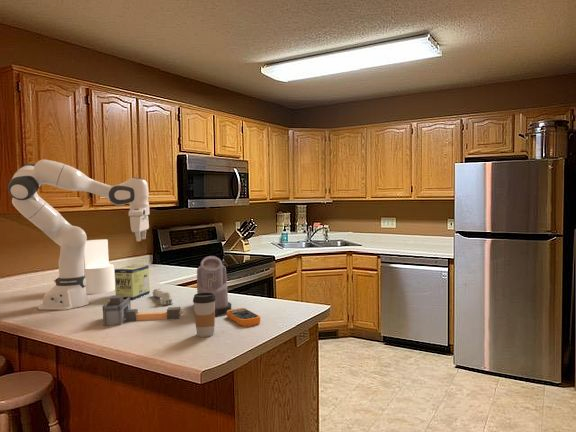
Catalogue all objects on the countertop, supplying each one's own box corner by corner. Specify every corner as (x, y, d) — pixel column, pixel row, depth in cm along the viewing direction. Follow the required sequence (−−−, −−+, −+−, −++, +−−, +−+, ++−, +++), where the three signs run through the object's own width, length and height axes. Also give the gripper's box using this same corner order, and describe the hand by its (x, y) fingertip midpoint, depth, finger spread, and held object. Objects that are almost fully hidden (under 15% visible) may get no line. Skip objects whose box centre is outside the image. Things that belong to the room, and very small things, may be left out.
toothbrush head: (161, 288, 237) (173, 289, 215) (161, 300, 236) (174, 303, 215) (150, 289, 234) (162, 291, 213) (151, 302, 234) (163, 305, 212)
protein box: (115, 299, 230) (113, 269, 229) (133, 292, 245) (132, 264, 244) (133, 300, 227) (131, 269, 226) (150, 293, 242) (149, 264, 241)
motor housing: (103, 325, 183) (102, 301, 182) (114, 315, 198) (113, 293, 197) (121, 324, 183) (119, 300, 183) (131, 315, 198) (129, 292, 198)
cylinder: (74, 293, 248) (71, 242, 247) (98, 286, 264) (96, 239, 263) (98, 294, 242) (96, 243, 240) (121, 288, 258) (119, 239, 256)
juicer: (233, 315, 193) (231, 259, 191) (195, 319, 189) (192, 261, 188) (227, 300, 222) (226, 250, 221) (194, 302, 219) (192, 252, 217)
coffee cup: (195, 331, 171) (194, 292, 171) (217, 330, 172) (216, 291, 171) (192, 338, 163) (191, 297, 162) (216, 337, 164) (214, 296, 163)
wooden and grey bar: (125, 321, 188) (125, 312, 188) (128, 318, 193) (128, 309, 192) (182, 318, 190) (182, 309, 190) (184, 315, 195) (183, 306, 194)
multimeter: (242, 328, 175) (242, 319, 175) (225, 317, 191) (225, 309, 190) (262, 324, 179) (262, 316, 179) (244, 314, 195) (244, 306, 195)
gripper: (138, 210, 225) (139, 238, 226) (127, 212, 205) (128, 242, 206) (151, 210, 226) (152, 237, 227) (141, 212, 206) (142, 242, 206)
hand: (141, 240), depth 216 cm, fingers open, 8 cm apart
